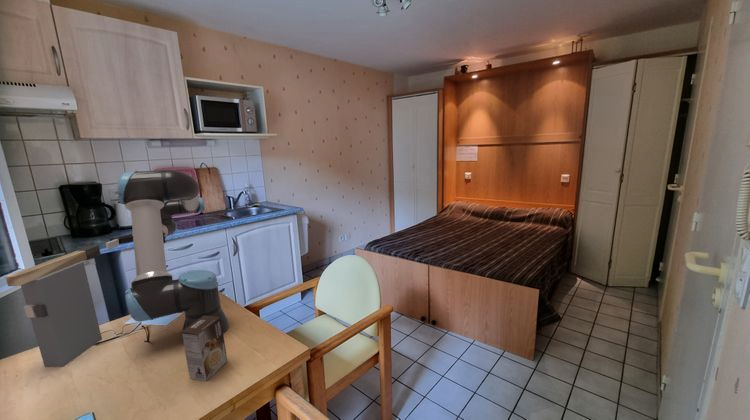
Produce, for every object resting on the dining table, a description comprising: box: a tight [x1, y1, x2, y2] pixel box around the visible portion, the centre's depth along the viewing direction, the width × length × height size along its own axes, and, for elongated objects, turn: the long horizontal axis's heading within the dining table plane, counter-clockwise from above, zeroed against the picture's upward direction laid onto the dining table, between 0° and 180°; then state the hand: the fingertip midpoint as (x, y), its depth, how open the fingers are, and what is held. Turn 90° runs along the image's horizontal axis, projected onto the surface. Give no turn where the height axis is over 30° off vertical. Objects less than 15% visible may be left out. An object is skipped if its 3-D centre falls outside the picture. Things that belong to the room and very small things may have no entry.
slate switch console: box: [20, 261, 103, 368], centre depth 100 cm, size 6×15×30 cm, turn 179°
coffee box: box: [180, 315, 228, 382], centre depth 93 cm, size 9×6×16 cm
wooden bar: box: [5, 244, 101, 287], centre depth 99 cm, size 3×26×3 cm, turn 179°
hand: (126, 245), depth 120 cm, fingers open, 13 cm apart
